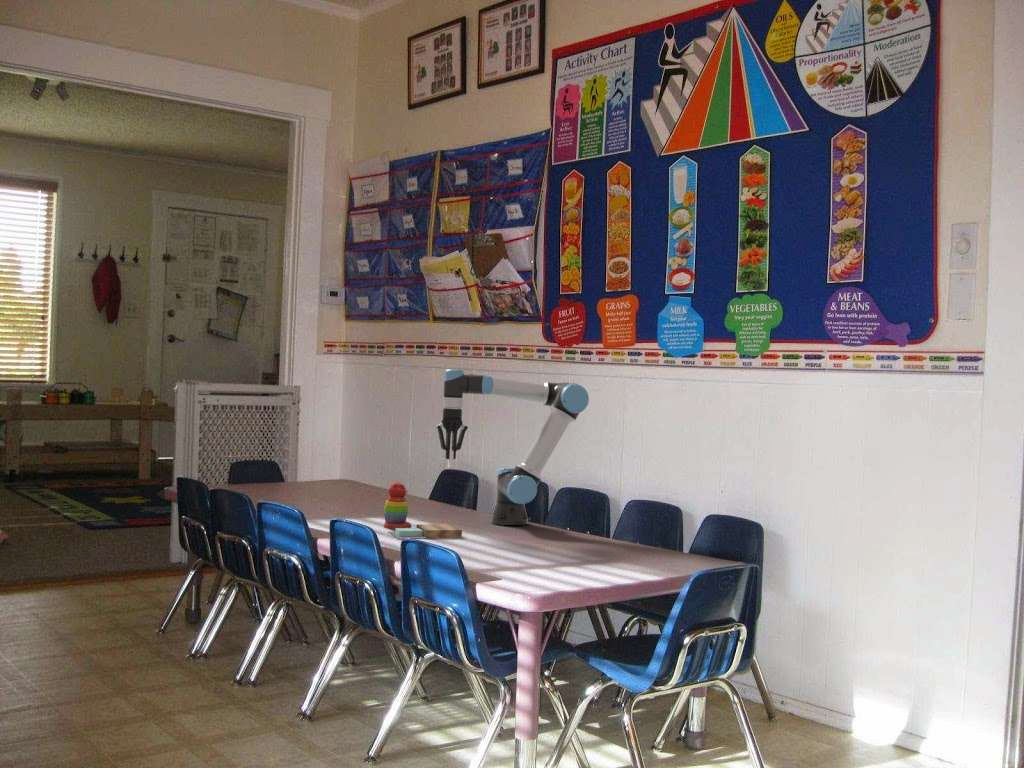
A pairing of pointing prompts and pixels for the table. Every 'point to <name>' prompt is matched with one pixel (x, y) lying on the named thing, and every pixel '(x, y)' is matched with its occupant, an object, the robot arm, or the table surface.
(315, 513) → the table surface
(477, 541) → the table surface
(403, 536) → the mat
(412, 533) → the mint green block
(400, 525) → the stacking bear
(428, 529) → the tan flat square slab
